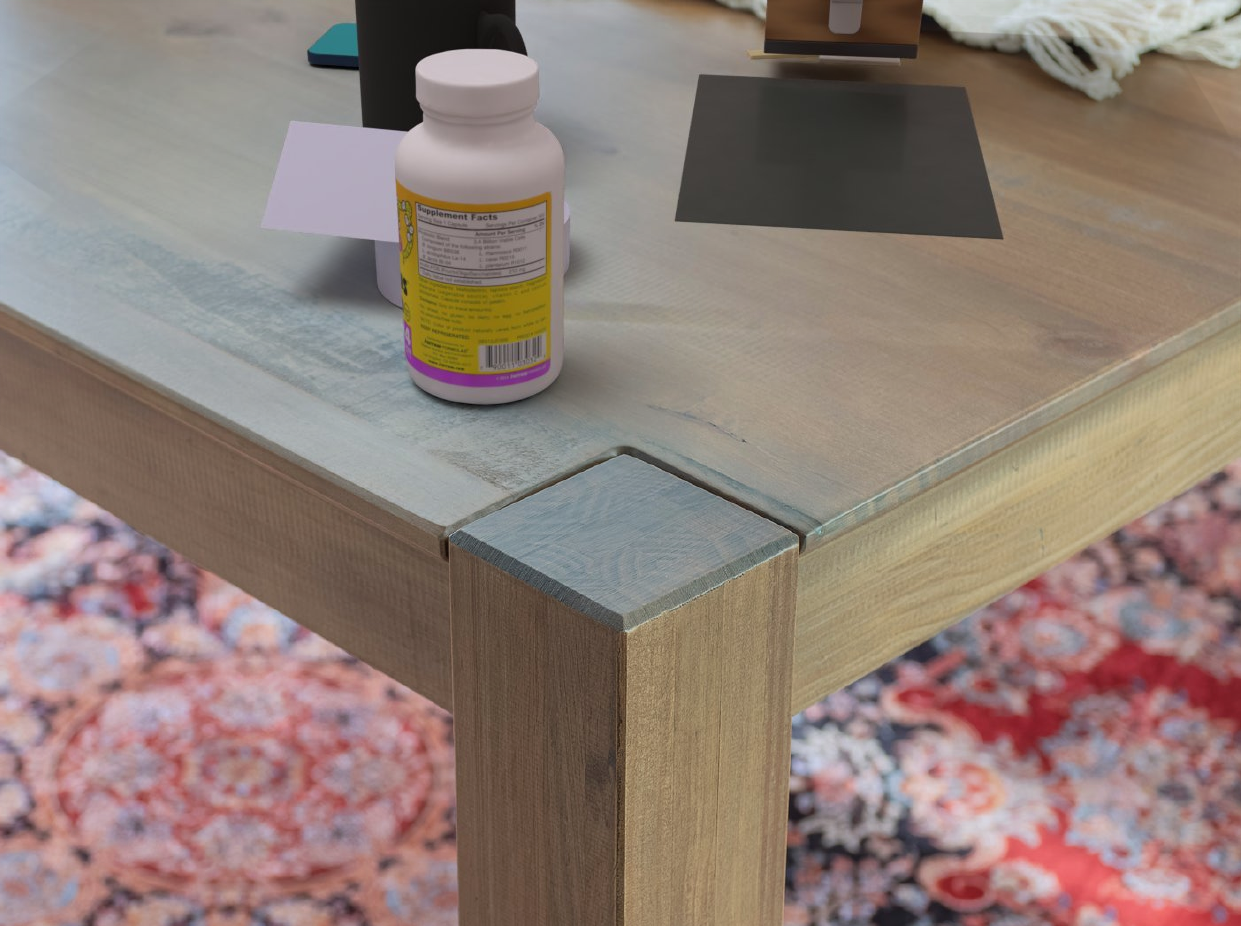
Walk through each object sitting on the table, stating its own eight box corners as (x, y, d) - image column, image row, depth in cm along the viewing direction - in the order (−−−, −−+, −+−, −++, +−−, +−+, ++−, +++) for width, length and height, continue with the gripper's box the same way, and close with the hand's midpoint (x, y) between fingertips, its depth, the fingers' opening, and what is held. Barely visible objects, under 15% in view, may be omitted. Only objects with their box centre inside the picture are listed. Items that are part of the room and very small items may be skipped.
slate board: (963, 103, 101) (965, 86, 101) (1000, 258, 82) (1004, 238, 81) (698, 90, 103) (699, 73, 102) (673, 239, 83) (674, 220, 83)
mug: (462, 221, 85) (456, 8, 79) (335, 155, 92) (321, -44, 86) (590, 186, 89) (594, -18, 83) (458, 126, 97) (453, -66, 90)
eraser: (913, 37, 103) (919, -21, 101) (916, 59, 99) (923, -1, 97) (765, 32, 104) (769, -26, 102) (763, 53, 100) (767, -6, 98)
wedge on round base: (267, 297, 77) (541, 330, 75) (252, 153, 73) (542, 182, 71) (335, 226, 84) (588, 253, 82) (325, 90, 80) (591, 115, 78)
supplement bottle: (446, 330, 74) (436, 31, 67) (585, 356, 73) (591, 51, 65) (377, 393, 69) (358, 78, 62) (525, 423, 67) (524, 102, 60)
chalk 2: (897, 76, 106) (899, 56, 105) (898, 81, 105) (900, 62, 104) (817, 72, 106) (819, 52, 105) (817, 77, 105) (819, 58, 104)
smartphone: (336, 19, 110) (560, 32, 108) (337, 32, 111) (560, 45, 109) (303, 53, 105) (539, 67, 103) (304, 66, 105) (539, 81, 103)
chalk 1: (826, 71, 106) (821, 65, 107) (828, 52, 105) (822, 46, 106) (750, 75, 105) (745, 69, 106) (751, 55, 105) (746, 49, 106)
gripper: (936, -213, 84) (904, 69, 92) (914, -267, 100) (888, -24, 108) (809, -216, 84) (788, 65, 92) (808, -269, 101) (790, -27, 109)
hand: (842, 16), depth 100 cm, fingers closed on eraser, 4 cm apart
